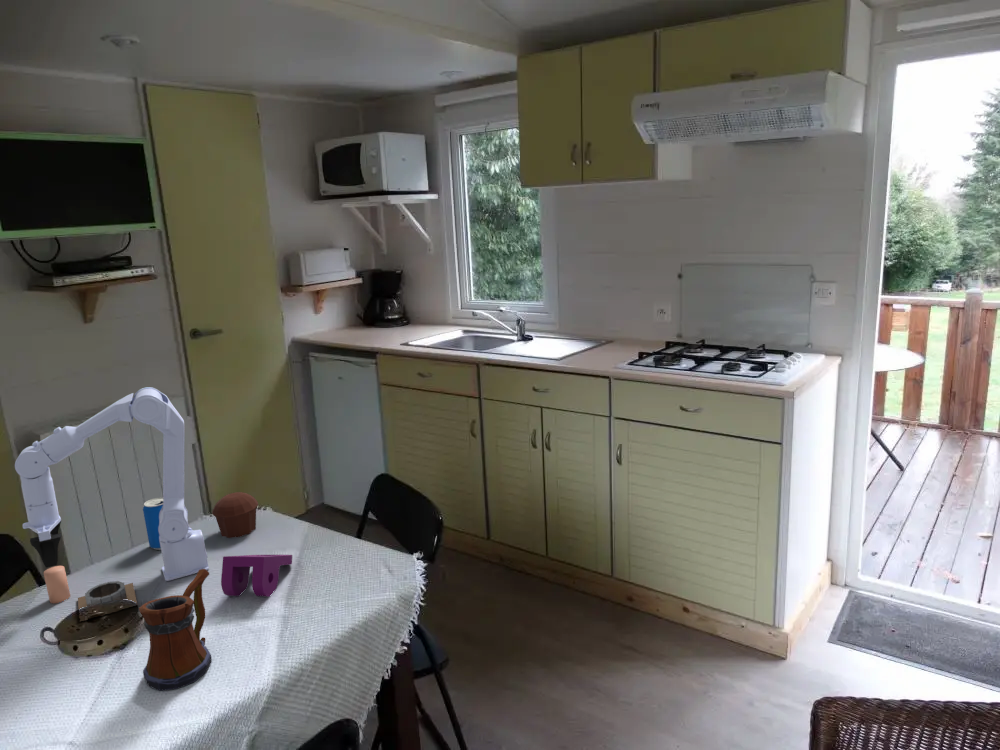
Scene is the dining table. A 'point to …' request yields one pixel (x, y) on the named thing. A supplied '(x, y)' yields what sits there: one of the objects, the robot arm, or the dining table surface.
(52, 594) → the rail post
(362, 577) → the dining table surface
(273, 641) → the dining table surface
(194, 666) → the mug
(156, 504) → the beverage can
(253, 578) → the mounting bracket
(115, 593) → the cup bracket
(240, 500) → the muffin
